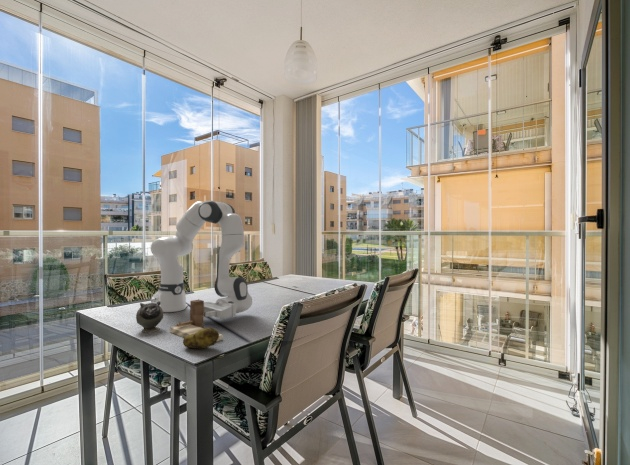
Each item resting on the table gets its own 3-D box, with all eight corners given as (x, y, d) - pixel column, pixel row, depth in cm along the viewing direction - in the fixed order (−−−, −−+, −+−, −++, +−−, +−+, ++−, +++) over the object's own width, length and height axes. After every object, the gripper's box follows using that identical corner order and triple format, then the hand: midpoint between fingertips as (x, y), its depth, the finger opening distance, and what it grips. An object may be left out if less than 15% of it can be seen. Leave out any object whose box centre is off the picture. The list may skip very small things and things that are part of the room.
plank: (170, 332, 134) (170, 327, 134) (187, 327, 141) (187, 323, 141) (205, 345, 120) (205, 340, 120) (222, 339, 127) (222, 334, 127)
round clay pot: (142, 336, 129) (167, 329, 137) (142, 306, 129) (167, 302, 137) (132, 330, 136) (157, 324, 144) (132, 302, 135) (157, 298, 143)
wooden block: (174, 331, 135) (175, 303, 135) (197, 325, 144) (198, 299, 144) (180, 333, 133) (180, 305, 133) (203, 327, 142) (203, 300, 142)
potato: (198, 342, 124) (198, 321, 124) (222, 349, 117) (222, 327, 117) (179, 348, 116) (180, 327, 116) (204, 356, 110) (205, 333, 110)
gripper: (210, 297, 159) (184, 302, 148) (237, 303, 147) (212, 309, 136) (209, 310, 159) (184, 315, 148) (237, 317, 147) (212, 324, 136)
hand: (198, 312), depth 142 cm, fingers open, 8 cm apart
